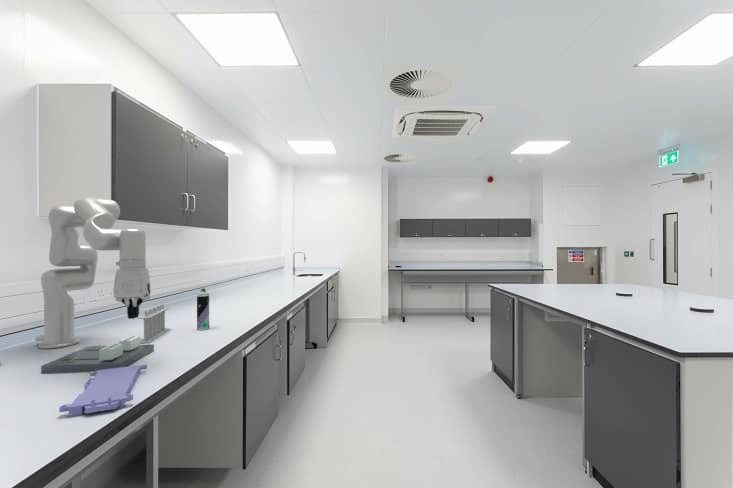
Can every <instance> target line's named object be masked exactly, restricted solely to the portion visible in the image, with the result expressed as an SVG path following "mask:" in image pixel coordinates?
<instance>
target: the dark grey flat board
mask: <svg viewBox="0 0 733 488" xmlns="http://www.w3.org/2000/svg"><path fill="white" fill-rule="evenodd" d="M107 346H108V345H93V346H91V345H90V346H86V347H83V348H80V349H79V350H76V351H74V352H72V353H69V354H66V355H64V356H61V357H59V358H57V359H54V360H52V361H50V362H47V363H45V364H42V365H41V366H40V367H41V368H40V369H41V370H40V374H41V375H42V374H64V373H65V374H66V373H90V372H92V371H98V370H103V369H111V368H119V367H127V366H132V364H133V363H136V362H137V361H139V360H141V359H144V357H146V356H148V355H149V354H151V353H153V352H154V351H155V344H153V343H152V344H140V346H138V347H136V348H134V349H132V350H123V354H122V355H120V356H118V357H117V358H115V359H113V360H99V350H100V349H102V348H104V347H107Z"/></svg>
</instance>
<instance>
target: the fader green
mask: <svg viewBox="0 0 733 488" xmlns="http://www.w3.org/2000/svg"><path fill="white" fill-rule="evenodd" d="M106 346H107V347H104V348H102V349H100V350H99V360H113V359H115V358H117V357H118V356H120V355H122V354H123V344H119V343H115V344H109V345H106Z"/></svg>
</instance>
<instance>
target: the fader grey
mask: <svg viewBox="0 0 733 488" xmlns="http://www.w3.org/2000/svg"><path fill="white" fill-rule="evenodd" d="M140 341H141V337H140V336H136V335H132V336H127V337H125V338H122V339H120V340H119V343H118V345H119V344H123V350H132V349H134V348H136V347H138V346H140V345H141V344H140Z"/></svg>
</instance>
